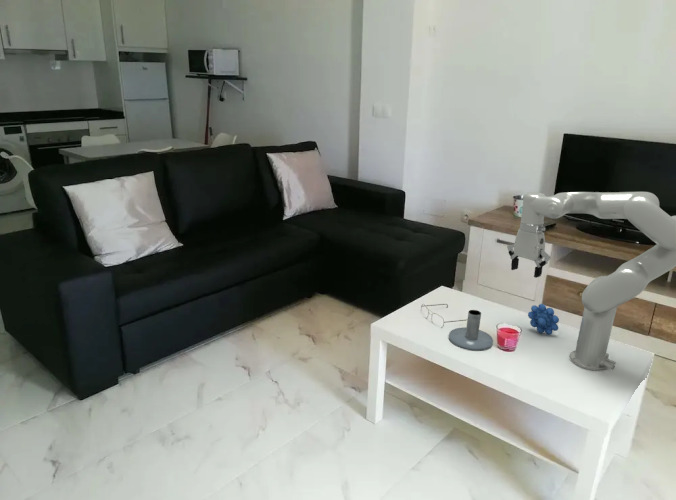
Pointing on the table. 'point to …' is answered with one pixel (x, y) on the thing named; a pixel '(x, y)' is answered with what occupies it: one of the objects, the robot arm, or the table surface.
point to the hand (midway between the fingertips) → (525, 272)
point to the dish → (474, 345)
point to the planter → (473, 324)
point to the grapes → (543, 319)
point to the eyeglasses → (439, 315)
